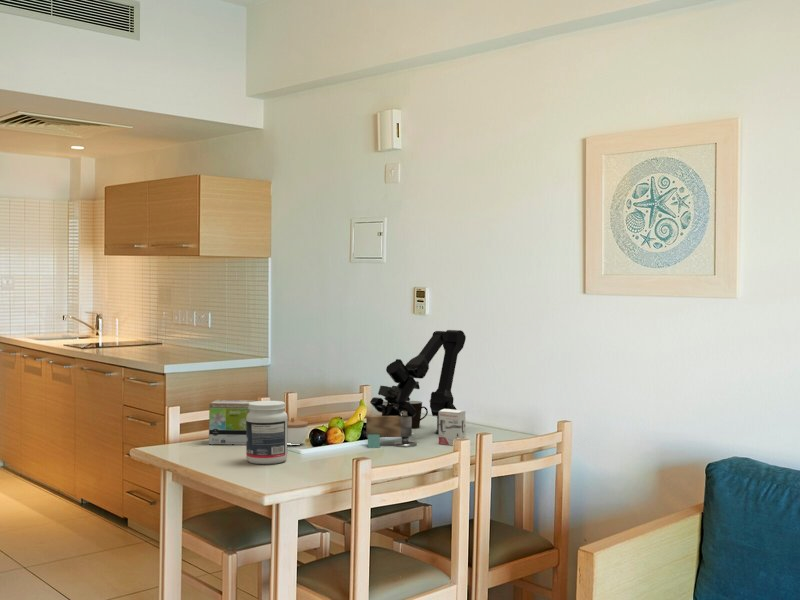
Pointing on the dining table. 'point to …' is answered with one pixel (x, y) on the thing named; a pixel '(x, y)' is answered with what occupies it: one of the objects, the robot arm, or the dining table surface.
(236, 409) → the tea box
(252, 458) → the supplement tub
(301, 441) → the lidded jar
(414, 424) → the coffee mug
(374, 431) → the brown rectangular block
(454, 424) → the ink box
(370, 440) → the stool pivot and socket
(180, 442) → the dining table surface
